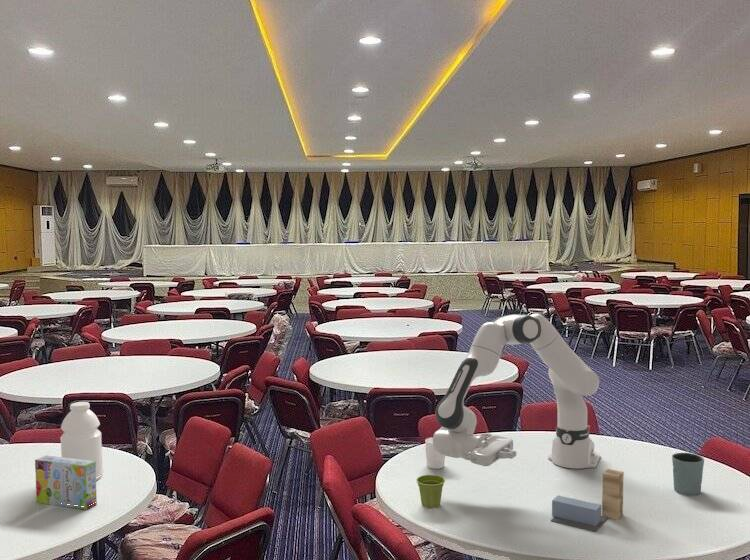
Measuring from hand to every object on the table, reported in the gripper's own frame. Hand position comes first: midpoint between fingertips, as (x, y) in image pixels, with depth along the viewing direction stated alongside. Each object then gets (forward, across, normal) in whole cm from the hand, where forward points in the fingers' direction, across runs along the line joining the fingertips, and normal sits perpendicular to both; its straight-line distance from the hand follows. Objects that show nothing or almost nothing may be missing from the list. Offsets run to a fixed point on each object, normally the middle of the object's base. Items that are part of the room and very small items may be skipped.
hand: (514, 455), depth 237 cm
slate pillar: (+14, -1, +14) cm, 20 cm away
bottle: (-142, -66, +13) cm, 157 cm away
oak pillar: (+29, +8, +17) cm, 35 cm away
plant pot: (-23, -17, +16) cm, 32 cm away
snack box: (-125, -83, +13) cm, 151 cm away
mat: (+22, -1, +17) cm, 28 cm away
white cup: (-41, +17, +16) cm, 47 cm away
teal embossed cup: (+44, +43, +19) cm, 65 cm away
